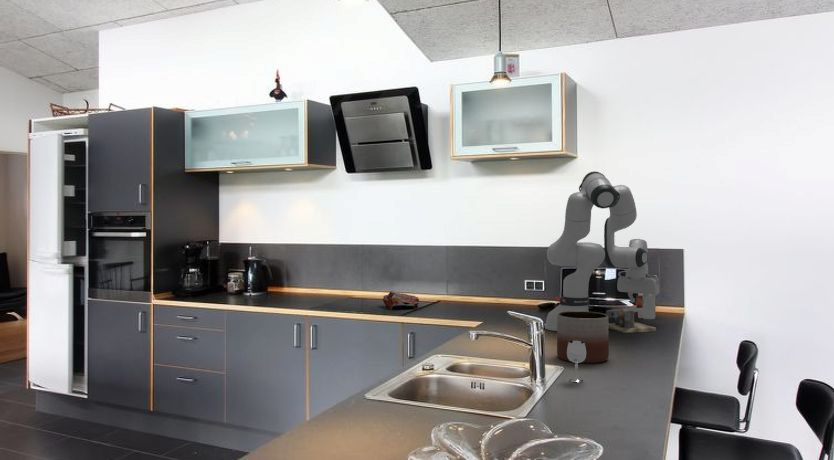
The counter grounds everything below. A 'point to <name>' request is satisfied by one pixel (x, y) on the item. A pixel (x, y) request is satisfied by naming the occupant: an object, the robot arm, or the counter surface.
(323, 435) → the counter surface
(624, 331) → the press base
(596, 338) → the planter
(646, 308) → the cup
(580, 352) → the wineglass
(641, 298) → the lever
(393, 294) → the meat
